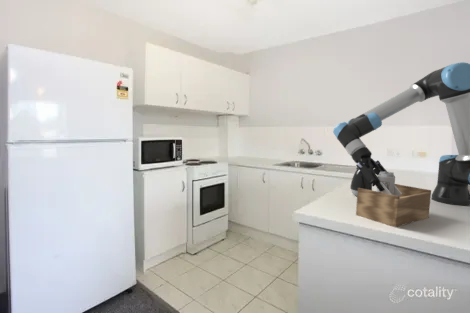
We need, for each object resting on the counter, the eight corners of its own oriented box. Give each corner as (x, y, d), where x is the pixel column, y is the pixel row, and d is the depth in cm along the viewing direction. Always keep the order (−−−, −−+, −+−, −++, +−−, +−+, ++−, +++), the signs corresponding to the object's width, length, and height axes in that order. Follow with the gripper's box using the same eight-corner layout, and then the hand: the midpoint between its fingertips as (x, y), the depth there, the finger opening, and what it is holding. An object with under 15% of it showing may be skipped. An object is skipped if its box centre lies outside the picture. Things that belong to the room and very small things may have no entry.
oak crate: (355, 214, 101) (357, 188, 100) (389, 207, 113) (391, 183, 112) (395, 227, 88) (397, 196, 87) (428, 217, 100) (431, 190, 99)
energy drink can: (373, 208, 103) (376, 172, 101) (376, 205, 107) (379, 170, 106) (390, 212, 99) (394, 174, 97) (393, 208, 103) (396, 172, 102)
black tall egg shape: (364, 193, 139) (366, 166, 137) (375, 198, 128) (378, 168, 127) (346, 193, 138) (347, 165, 137) (356, 198, 128) (358, 168, 126)
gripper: (365, 156, 119) (399, 199, 107) (339, 157, 110) (373, 204, 97) (377, 146, 114) (414, 189, 102) (350, 146, 105) (388, 194, 92)
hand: (394, 196), depth 99 cm, fingers closed on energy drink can, 6 cm apart
